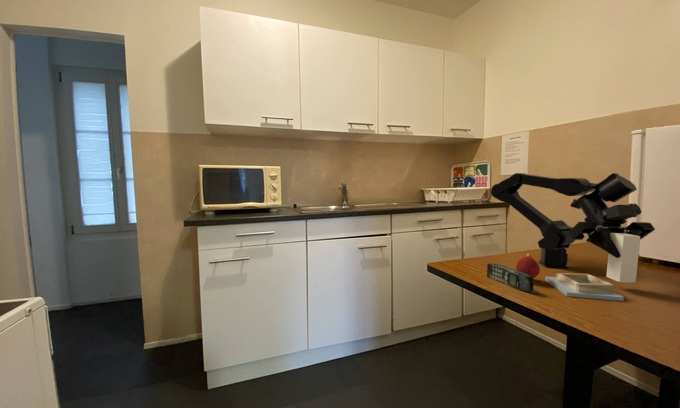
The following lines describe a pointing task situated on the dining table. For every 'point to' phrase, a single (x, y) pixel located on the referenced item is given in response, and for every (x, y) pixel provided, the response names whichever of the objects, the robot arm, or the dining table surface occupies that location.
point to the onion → (528, 266)
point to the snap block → (624, 258)
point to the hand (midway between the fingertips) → (627, 257)
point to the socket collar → (595, 286)
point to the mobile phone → (511, 277)
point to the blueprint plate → (574, 293)
